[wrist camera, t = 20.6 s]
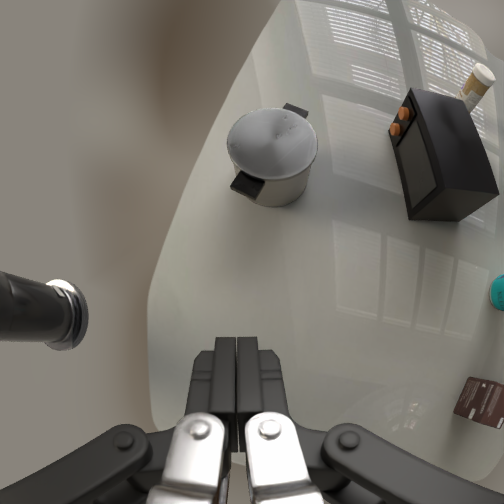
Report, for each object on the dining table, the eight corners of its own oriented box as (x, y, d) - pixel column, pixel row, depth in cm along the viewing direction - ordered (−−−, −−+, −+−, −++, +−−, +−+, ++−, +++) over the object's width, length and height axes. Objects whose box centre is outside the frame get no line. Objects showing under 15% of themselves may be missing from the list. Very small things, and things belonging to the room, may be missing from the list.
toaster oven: (402, 220, 38) (438, 187, 27) (382, 129, 42) (404, 85, 31) (458, 221, 37) (499, 194, 27) (435, 137, 41) (463, 100, 30)
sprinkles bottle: (448, 100, 43) (474, 58, 30) (465, 111, 43) (494, 71, 30) (448, 114, 42) (478, 71, 29) (466, 125, 42) (498, 84, 29)
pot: (282, 234, 38) (286, 209, 30) (213, 200, 40) (200, 169, 32) (325, 153, 41) (336, 118, 33) (263, 126, 43) (261, 89, 34)
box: (468, 375, 31) (497, 380, 24) (489, 384, 30) (518, 389, 23) (451, 412, 30) (479, 423, 23) (473, 420, 29) (501, 429, 22)
